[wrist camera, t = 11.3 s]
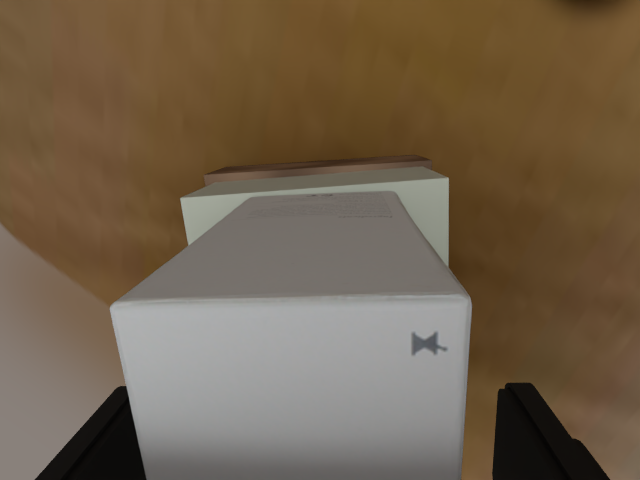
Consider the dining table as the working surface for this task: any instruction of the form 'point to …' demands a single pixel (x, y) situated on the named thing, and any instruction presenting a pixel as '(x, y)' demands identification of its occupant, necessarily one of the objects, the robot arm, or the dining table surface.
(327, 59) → the dining table surface
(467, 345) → the skincare box
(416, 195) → the grey green slab
